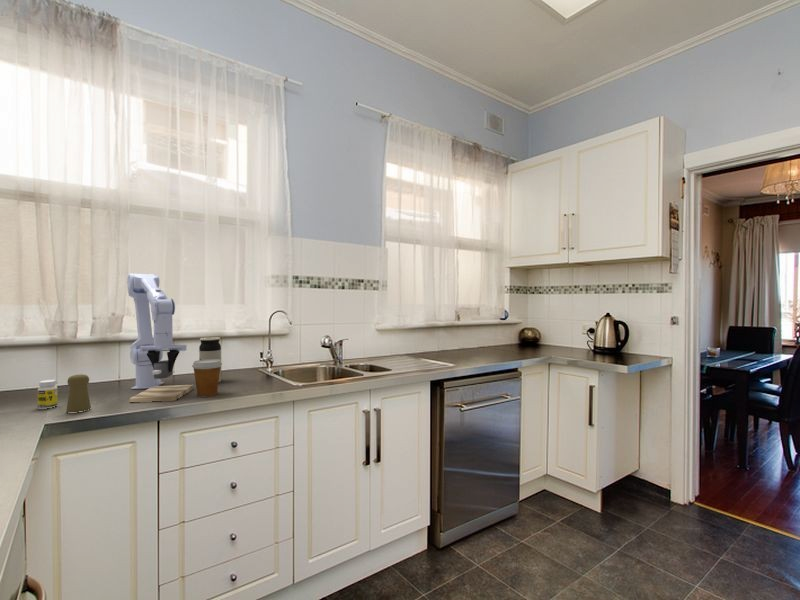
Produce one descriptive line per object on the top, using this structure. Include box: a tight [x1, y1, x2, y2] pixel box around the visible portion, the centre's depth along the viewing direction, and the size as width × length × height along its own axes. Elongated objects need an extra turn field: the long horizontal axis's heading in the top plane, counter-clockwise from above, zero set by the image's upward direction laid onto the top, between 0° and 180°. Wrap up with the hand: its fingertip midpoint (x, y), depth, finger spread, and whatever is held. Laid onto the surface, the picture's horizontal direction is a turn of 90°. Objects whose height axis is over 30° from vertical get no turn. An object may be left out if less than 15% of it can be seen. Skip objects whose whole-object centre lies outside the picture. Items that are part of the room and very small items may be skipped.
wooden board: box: [129, 384, 195, 403], centre depth 142 cm, size 18×14×2 cm
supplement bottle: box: [37, 379, 59, 410], centre depth 127 cm, size 5×5×8 cm
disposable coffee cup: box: [191, 359, 223, 397], centre depth 142 cm, size 10×10×12 cm
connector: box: [152, 359, 174, 380], centre depth 140 cm, size 11×4×5 cm, turn 10°
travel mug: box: [198, 336, 222, 383], centre depth 163 cm, size 8×8×18 cm
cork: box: [65, 373, 92, 413], centre depth 123 cm, size 6×6×11 cm
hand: (163, 371), depth 142 cm, fingers closed on connector, 4 cm apart
